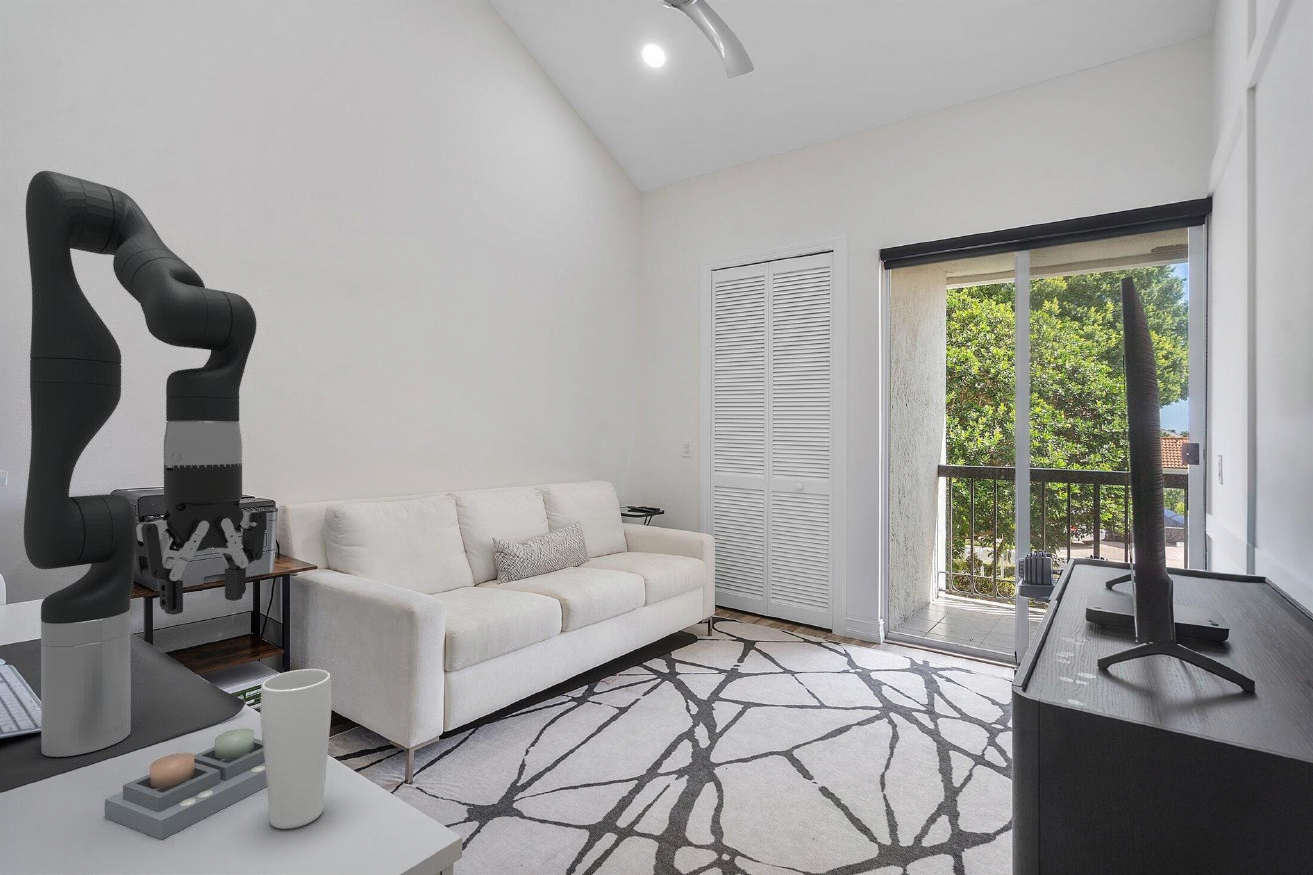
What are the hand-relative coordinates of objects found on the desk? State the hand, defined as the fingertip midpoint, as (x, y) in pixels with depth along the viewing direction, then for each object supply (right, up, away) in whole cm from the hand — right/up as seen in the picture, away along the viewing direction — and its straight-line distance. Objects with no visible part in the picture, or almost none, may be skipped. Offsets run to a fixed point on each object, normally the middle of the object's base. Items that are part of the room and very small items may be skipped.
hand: (204, 605), depth 78 cm
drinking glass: (+13, -22, -5) cm, 26 cm away
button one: (+1, -18, +3) cm, 19 cm away
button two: (-1, -18, -3) cm, 19 cm away
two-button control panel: (0, -22, 0) cm, 22 cm away
